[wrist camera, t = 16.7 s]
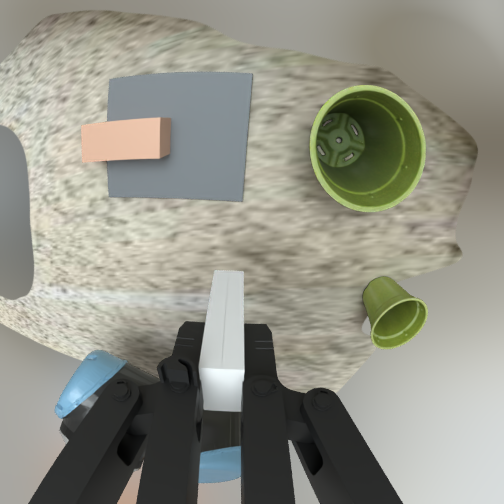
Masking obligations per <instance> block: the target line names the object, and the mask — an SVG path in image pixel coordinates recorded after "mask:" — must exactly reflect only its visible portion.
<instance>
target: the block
mask: <svg viewBox="0 0 504 504" xmlns="http://www.w3.org/2000/svg"><path fill="white" fill-rule="evenodd" d="M81 133H82V163H83V162H95V161H109V160H127V159H159V158H162V157H164V156H166V155H168V154H170V135H171V118H163V117H158V118H142V119H130V120H119V121H110V122H102V123H94V124H87V125H81Z"/></svg>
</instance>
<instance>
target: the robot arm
mask: <svg viewBox="0 0 504 504" xmlns="http://www.w3.org/2000/svg"><path fill="white" fill-rule="evenodd" d="M127 362H128V361H126V360H122V359H120V358H117V357H115V356H113V355H111V354H109V353H108V352H106V351H103V350H95V351H92V352H91V353H90V354H88V355H87V357H86V358H85V359H84V360H83V362H82V363H81V365H80V366H79V367H78V368H77V370H76V371H75V373H74V374H73V376H72V377H71V379H70V381H69V382H68V384H67V385H66V387H65V389H64V391H63V393H62V394H61V396H60V398H59V401H58V403H57V405H56V406H55V413H56V414H57V415H58V417H59V418H61V419H63V421H62V424H61V427H60V430H59V431H60V434H61V436H62V438H63V440H64V442H65V444H66V446H65V447H64V449H63V450H62V451H61V453H60V454H59V456H58V457H57V459H56V460H55V462H54V464H53V465H52V467H51V468H50V470H49V471H48V473H47V474H46V476H45V478H44V479H43V481H42V482H41V484H40V485H39V487H38V489H37V491H36V492H35V494H34V495H33V497H32V499H31V500H30V502H29V503H28V504H117V502H118V500H119V498H120V496H121V494H122V493H123V490H124V489H125V487H126V485H127V483H128V481H129V479H130V477H131V475H132V473H133V472H134V471H137V470H139V469H140V468H141V465H142V462H143V460H144V462H143V467H142V473H141V479H140V485H139V490H138V496H137V502H136V504H197V497H198V483H216V482H225V481H230V480H234V479H237V478H239V477H241V504H295V498H294V497H295V496H294V488H293V479H292V470H291V462H290V453H289V444H288V440H291V441H292V443H293V445H294V447H295V450H296V452H297V454H298V457H299V459H300V461H301V463H302V466H303V468H304V470H305V473H306V475H307V477H308V479H309V481H310V483H311V486H312V488H313V490H314V492H315V494H316V496H317V498H318V500H319V503H320V504H403V503H402V501H401V500H400V498H399V496H398V495H397V493H396V491H395V490H394V488H393V487H392V485H391V483H390V481H389V480H388V478H387V476H386V475H385V473H384V472H383V470H382V468H381V466H380V465H379V463H378V462H377V460H376V458H375V457H374V455H373V453H372V452H371V450H370V448H369V447H368V445H367V443H366V442H365V440H364V438H363V437H362V435H361V433H360V432H359V430H358V428H357V427H356V425H355V424H354V422H353V420H352V419H351V417H350V415H349V414H348V412H347V410H346V409H345V407H344V405H343V404H342V402H341V400H340V399H339V397H338V396H337V395H336V394H335V393H334V392H333V391H331V390H329V389H325V388H314V389H312V390H310V391H308V392H307V393H301V392H297V391H293V390H290V389H288V388H286V387H284V386H283V385H282V384H281V383H280V381H279V380H278V377H277V371H276V363H275V355H274V347H273V339H272V332H271V331H270V329H269V328H268V326H267V325H266V324H244V271H227V270H214V275H213V281H212V287H211V293H210V298H209V304H208V310H207V316H206V323H204V322H189V321H186V322H185V323H184V324H183V325H182V326H181V327H180V328H179V331H178V335H177V339H176V342H175V346H174V350H173V354H172V356H171V357H168V358H165V359H164V360H162V361H161V362H160V363H159V365H158V367H157V370H158V374H159V377H160V379H159V378H157V377H155V376H153V375H151V374H149V373H147V372H145V371H143V370H141V369H139V368H137V367H135V366H133V365H131V364H129V363H127Z"/></svg>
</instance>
